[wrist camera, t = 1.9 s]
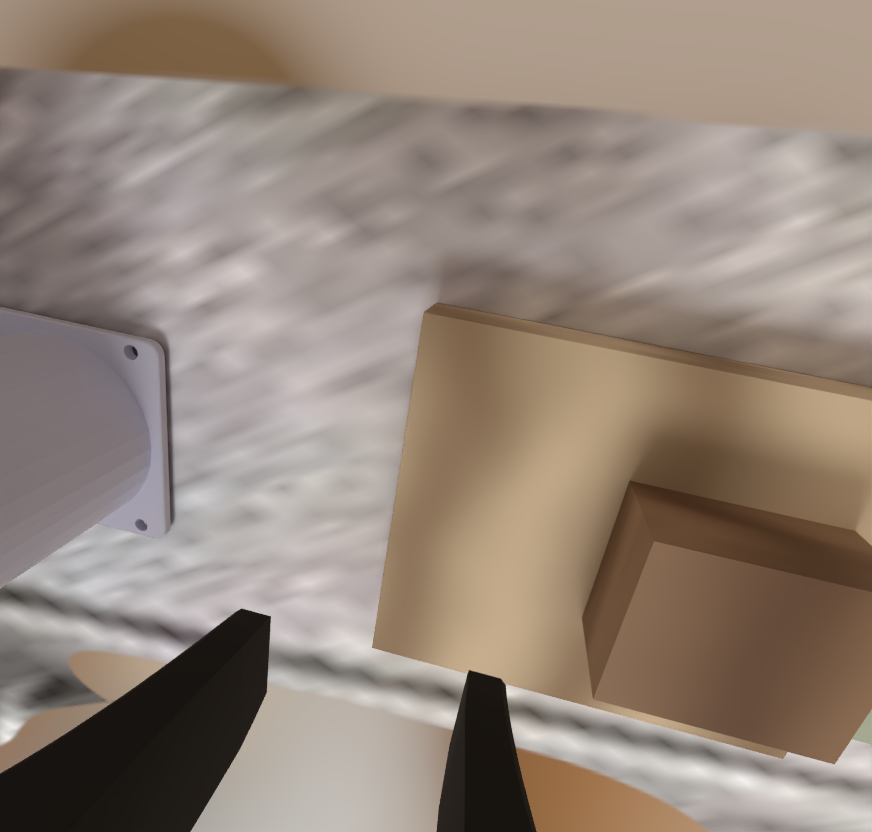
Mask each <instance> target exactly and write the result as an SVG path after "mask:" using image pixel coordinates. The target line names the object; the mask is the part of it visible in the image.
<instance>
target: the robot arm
mask: <svg viewBox="0 0 872 832" xmlns="http://www.w3.org/2000/svg"><path fill="white" fill-rule="evenodd" d="M132 346H134V347H135V348H136V350H137V352H138V356H136V355H135V354H134V353H133V350H132ZM143 521H145V522H146V524H145V523H144V522H143ZM96 523H98V524H102V525H106V526H110V527H113V528H117V529H121V530H125V531H129V532H133V533H137V534H141V535H144V536H148V537H152V538H161V537H163V536H164V535H166V534H167V533H168V532H169V531H170V527H171V522H170V493H169V465H168V437H167V409H166V381H165V355H164V351H163V349H162V347H161V345H160V344H159V343H157V342H156V341H154V340H152V339H149V338H144V337H139V336H135V335H130V334H125V333H121V332H116V331H111V330H107V329H102V328H97V327H93V326H88V325H83V324H79V323H74V322H70V321H65V320H60V319H56V318H51V317H46V316H42V315H37V314H32V313H28V312H23V311H18V310H14V309H9V308H4V307H0V588H1V587H3V586H4V585H6V584H7V583H9V582H10V581H12V580H13V579H15V578H16V577H18V576H19V575H21V574H22V573H24V572H25V571H27V570H28V569H30V568H31V567H33V566H34V565H36V564H37V563H38V562H40V561H41V560H43V559H44V558H46V557H47V556H49V555H50V554H52V553H53V552H55V551H56V550H58V549H59V548H61V547H62V546H64V545H65V544H67V543H68V542H70V541H71V540H73V539H74V538H76V537H77V536H79V535H80V534H82V533H83V532H85V531H86V530H88V529H89V528H91V527H92V526H94V525H95V524H96ZM270 622H271V616H267V615H263V614H260V613H256V612H252V611H248V610H245V609H240V610H238V611H237V612H235V613H234V614H233V615H231V616H230V617H229V618H227V619H226V620H225V621H223V622H222V623H221V624H220V625H218V626H217V627H216V628H214V629H213V630H212V631H210V632H209V633H208V634H207V635H205V636H204V637H203V638H201V639H200V640H199V641H197V642H196V643H195V644H193V645H192V646H191V647H189V648H188V649H187V650H185V651H184V652H183V653H181V654H180V655H179V656H177V657H176V658H175V659H173V660H172V661H171V662H169V663H168V664H167V665H165V666H164V667H162V668H161V669H160V670H159V671H157V672H156V673H154V674H153V675H151V676H150V677H148V678H147V679H146V680H145V681H143V682H142V683H140V684H139V685H137V686H136V687H135V688H133V689H132V690H130V691H129V692H127V693H126V694H125V695H124V696H122V697H120V698H119V699H117V700H116V701H114V702H113V703H111V704H110V705H108V706H107V707H105V708H104V709H102V710H101V711H99V712H98V713H97V714H95V715H93V716H92V717H90V718H89V719H87V720H86V721H84V722H83V723H81V724H80V725H78V726H77V727H75V728H74V729H72V730H71V731H69V732H68V733H66V734H65V735H63V736H61V737H60V738H58V739H57V740H55V741H53V742H52V743H50V744H49V745H47V746H45V747H44V748H42V749H41V750H39V751H37V752H36V753H34V754H32V755H31V756H29V757H28V758H26V759H24V760H23V761H21V762H19V763H17V764H16V765H14V766H13V767H11V768H9V769H7V770H6V771H4V772H2V773H1V774H0V832H190V831H191V830H192V828H193V826H194V825H195V823H196V822H197V819H198V818H199V816H200V815H201V813H202V812H203V810H204V808H205V807H206V805H207V803H208V802H209V800H210V798H211V797H212V795H213V793H214V792H215V790H216V788H217V787H218V785H219V783H220V782H221V780H222V778H223V777H224V775H225V773H226V772H227V770H228V768H229V767H230V765H231V763H232V761H233V760H234V758H235V756H236V755H237V753H238V751H239V750H240V748H241V746H242V744H243V742H244V740H245V737H246V735H247V733H248V731H249V729H250V727H251V725H252V723H253V721H254V719H255V717H256V714H257V712H258V710H259V708H260V706H261V704H262V701H263V699H264V697H265V695H266V693H267V677H268V658H269V640H270ZM437 832H536V828H535V825H534V821H533V817H532V814H531V810H530V806H529V803H528V799H527V795H526V791H525V787H524V783H523V779H522V775H521V771H520V767H519V762H518V758H517V753H516V748H515V743H514V738H513V733H512V728H511V722H510V717H509V710H508V703H507V696H506V685H505V683H504V682H503V681H502V679H501V678H497V677H493V676H490V675H486V674H482V673H478V672H475V671H471V670H469V671H468V675H467V679H466V683H465V686H464V690H463V694H462V698H461V702H460V706H459V710H458V714H457V718H456V722H455V726H454V730H453V734H452V738H451V742H450V746H449V752H448V758H447V764H446V769H445V775H444V781H443V787H442V793H441V799H440V805H439V813H438V823H437Z"/></svg>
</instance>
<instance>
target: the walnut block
mask: <svg viewBox="0 0 872 832" xmlns="http://www.w3.org/2000/svg"><path fill="white" fill-rule="evenodd" d="M582 623H583V630H584V638H585V645H586V652H587V660H588V667H589V674H590V682H591V689H592V696H593V700H597V701H601V702H605V703H608V704H612V705H616V706H620V707H623V708H627V709H631V710H634V711H638V712H642V713H646V714H649V715H653V716H657V717H660V718H664V719H668V720H672V721H675V722H679V723H683V724H686V725H690V726H694V727H698V728H701V729H705V730H709V731H713V732H716V733H720V734H724V735H727V736H731V737H735V738H739V739H742V740H746V741H750V742H753V743H757V744H761V745H765V746H768V747H772V748H776V749H780V750H783V751H787V752H791V753H794V754H798V755H802V756H806V757H809V758H813V759H817V760H820V761H824V762H828V763H832V764H835V763H836V761H837V760H838V758H839V757H840V755H841V754H842V753H843V751H844V750H845V748H846V747H847V745H848V744H849V742H850V741H851V739H852V738H853V736H854V735H855V733H856V732H857V730H858V729H859V727H860V726H861V724H862V723H863V721H864V720H865V718H866V717H867V715H868V714H869V713H870V711H871V710H872V545H870V544H869V543H868V542H867V541H866V540H865V539H864V538H863V537H862V536H861V535H859V534H858V533H857V532H856V531H854V530H849V529H845V528H840V527H836V526H831V525H827V524H822V523H818V522H813V521H809V520H804V519H800V518H795V517H791V516H786V515H782V514H777V513H773V512H768V511H764V510H759V509H755V508H750V507H746V506H741V505H737V504H732V503H728V502H723V501H719V500H714V499H710V498H705V497H701V496H696V495H692V494H687V493H683V492H679V491H674V490H670V489H665V488H661V487H656V486H652V485H647V484H643V483H638V482H634V481H629V483H628V486H627V489H626V492H625V495H624V498H623V501H622V503H621V506H620V509H619V512H618V515H617V518H616V521H615V524H614V527H613V529H612V532H611V535H610V538H609V541H608V544H607V547H606V550H605V553H604V555H603V558H602V561H601V564H600V567H599V570H598V573H597V576H596V579H595V581H594V584H593V587H592V590H591V593H590V596H589V599H588V602H587V605H586V607H585V610H584V613H583V616H582Z"/></svg>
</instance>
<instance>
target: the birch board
mask: <svg viewBox="0 0 872 832" xmlns="http://www.w3.org/2000/svg"><path fill="white" fill-rule="evenodd" d="M629 481H634V482H638V483H643V484H647V485H652V486H656V487H661V488H665V489H670V490H674V491H679V492H683V493H687V494H692V495H696V496H701V497H705V498H710V499H714V500H719V501H723V502H728V503H732V504H737V505H741V506H746V507H750V508H755V509H759V510H764V511H768V512H773V513H777V514H782V515H786V516H791V517H795V518H800V519H804V520H809V521H813V522H818V523H822V524H827V525H831V526H836V527H840V528H845V529H849V530H854V531H856V532H857V533H858V534H859V535H861V536H862V537H863V538H864V539H865V540H866V541H867V542H868V543H869V544H870V545H872V388H871V387H866V386H861V385H856V384H851V383H846V382H841V381H836V380H830V379H825V378H820V377H815V376H810V375H805V374H800V373H794V372H789V371H784V370H779V369H774V368H769V367H764V366H758V365H753V364H748V363H743V362H738V361H733V360H728V359H722V358H717V357H712V356H707V355H702V354H697V353H692V352H686V351H681V350H676V349H671V348H666V347H661V346H656V345H651V344H645V343H640V342H635V341H630V340H625V339H620V338H615V337H609V336H604V335H599V334H594V333H589V332H584V331H579V330H573V329H568V328H563V327H558V326H553V325H548V324H543V323H537V322H532V321H527V320H522V319H517V318H512V317H507V316H501V315H496V314H491V313H486V312H481V311H476V310H471V309H466V308H460V307H455V306H450V305H445V304H440V303H436V304H434V305H433V306H432V307H430V308H429V309H428V310H427V311H425V312H424V315H423V321H422V328H421V334H420V341H419V347H418V354H417V360H416V367H415V373H414V380H413V386H412V393H411V399H410V406H409V412H408V419H407V425H406V432H405V438H404V445H403V451H402V458H401V464H400V470H399V477H398V483H397V490H396V496H395V503H394V509H393V516H392V522H391V529H390V535H389V542H388V548H387V555H386V561H385V568H384V574H383V581H382V587H381V594H380V600H379V606H378V613H377V619H376V626H375V632H374V639H373V645H372V648H375V649H379V650H382V651H386V652H390V653H393V654H397V655H401V656H404V657H408V658H412V659H416V660H419V661H423V662H427V663H430V664H434V665H438V666H441V667H445V668H449V669H453V670H456V671H460V672H464V673H467V674H468V671H469V670H471V671H475V672H478V673H482V674H486V675H490V676H493V677H497V678H501V679H502V681H503V682H504V683H505V684H508V685H512V686H515V687H519V688H523V689H526V690H530V691H534V692H538V693H541V694H545V695H549V696H552V697H556V698H560V699H563V700H567V701H571V702H575V703H578V704H582V705H586V706H589V707H593V708H597V709H600V710H604V711H608V712H612V713H615V714H619V715H623V716H626V717H630V718H634V719H637V720H641V721H645V722H649V723H652V724H656V725H660V726H663V727H667V728H671V729H674V730H678V731H682V732H686V733H689V734H693V735H697V736H700V737H704V738H708V739H711V740H715V741H719V742H723V743H726V744H730V745H734V746H737V747H741V748H745V749H748V750H752V751H756V752H760V753H763V754H767V755H771V756H774V757H778V758H782V759H783V758H784V757H785V755H786V753H787V751H783V750H780V749H776V748H772V747H768V746H765V745H761V744H757V743H753V742H750V741H746V740H742V739H739V738H735V737H731V736H727V735H724V734H720V733H716V732H713V731H709V730H705V729H701V728H698V727H694V726H690V725H686V724H683V723H679V722H675V721H672V720H668V719H664V718H660V717H657V716H653V715H649V714H646V713H642V712H638V711H634V710H631V709H627V708H623V707H620V706H616V705H612V704H608V703H605V702H601V701H597V700H593V696H592V689H591V682H590V674H589V667H588V660H587V652H586V645H585V638H584V630H583V623H582V616H583V613H584V610H585V607H586V605H587V602H588V599H589V596H590V593H591V590H592V587H593V584H594V581H595V579H596V576H597V573H598V570H599V567H600V564H601V561H602V558H603V555H604V553H605V550H606V547H607V544H608V541H609V538H610V535H611V532H612V529H613V527H614V524H615V521H616V518H617V515H618V512H619V509H620V506H621V503H622V501H623V498H624V495H625V492H626V489H627V486H628V483H629Z"/></svg>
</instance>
